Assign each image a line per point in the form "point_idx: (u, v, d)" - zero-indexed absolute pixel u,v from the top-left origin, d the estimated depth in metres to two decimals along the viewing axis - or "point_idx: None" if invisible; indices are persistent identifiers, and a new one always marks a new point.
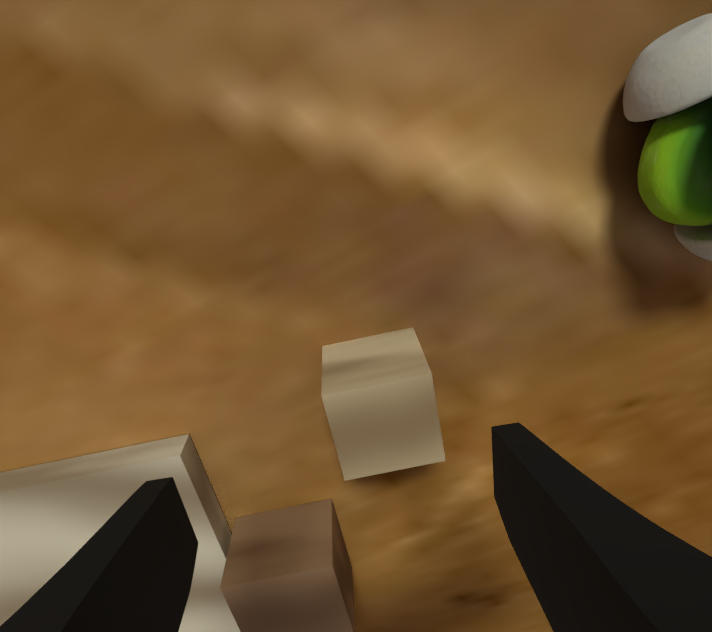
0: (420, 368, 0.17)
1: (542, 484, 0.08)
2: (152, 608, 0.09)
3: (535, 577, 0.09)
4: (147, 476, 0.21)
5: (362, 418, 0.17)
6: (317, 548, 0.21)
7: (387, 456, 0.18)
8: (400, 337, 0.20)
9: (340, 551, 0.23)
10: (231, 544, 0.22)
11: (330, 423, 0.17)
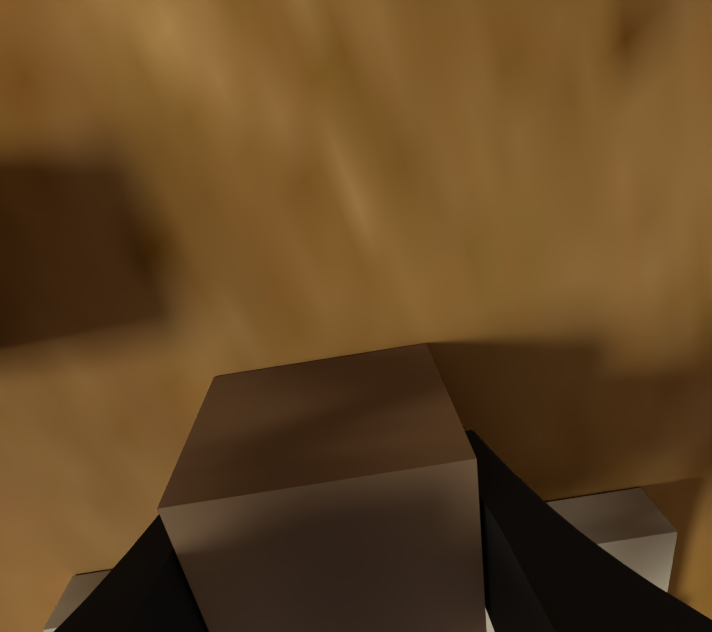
0: None
1: (481, 494, 0.08)
2: None
3: None
4: None
5: None
6: None
7: None
8: None
9: (291, 404, 0.09)
10: None
11: None
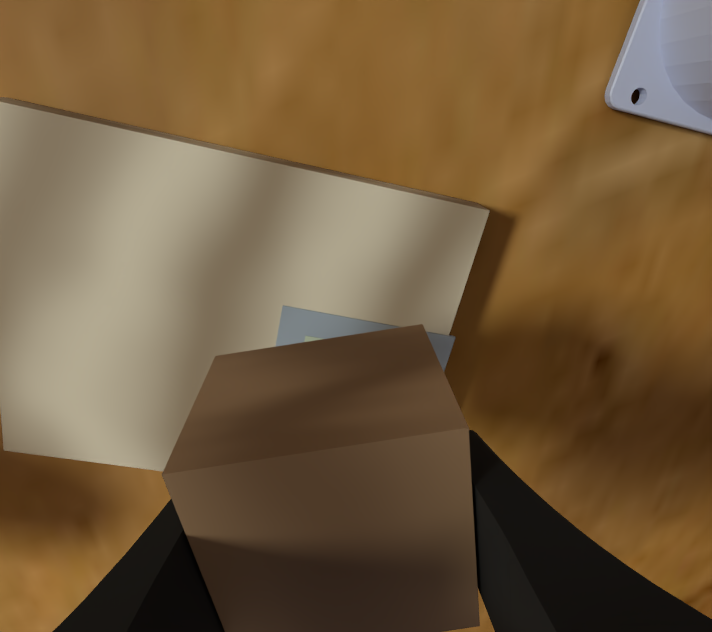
0: None
1: (482, 494, 0.08)
2: (206, 600, 0.09)
3: (482, 586, 0.09)
4: (6, 162, 0.14)
5: None
6: None
7: None
8: None
9: (290, 380, 0.10)
10: None
11: None
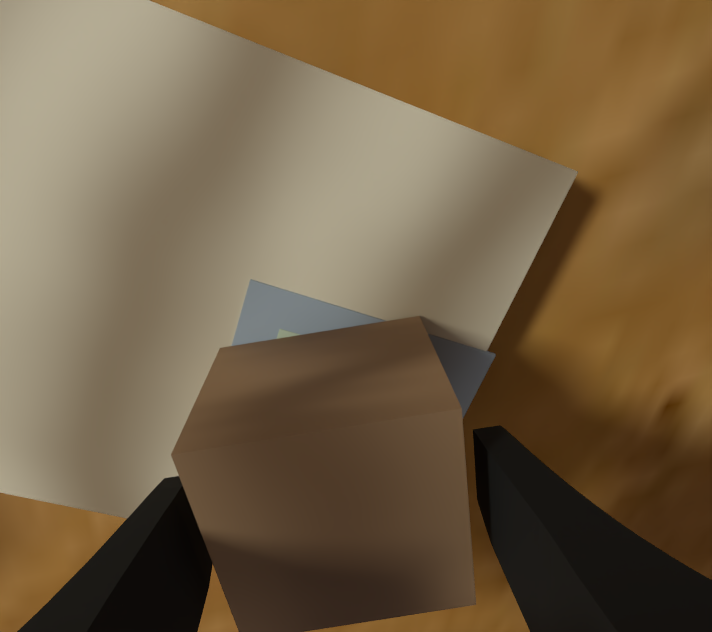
0: None
1: (518, 488, 0.08)
2: (173, 605, 0.09)
3: (514, 580, 0.09)
4: None
5: None
6: None
7: None
8: None
9: (292, 369, 0.10)
10: None
11: None
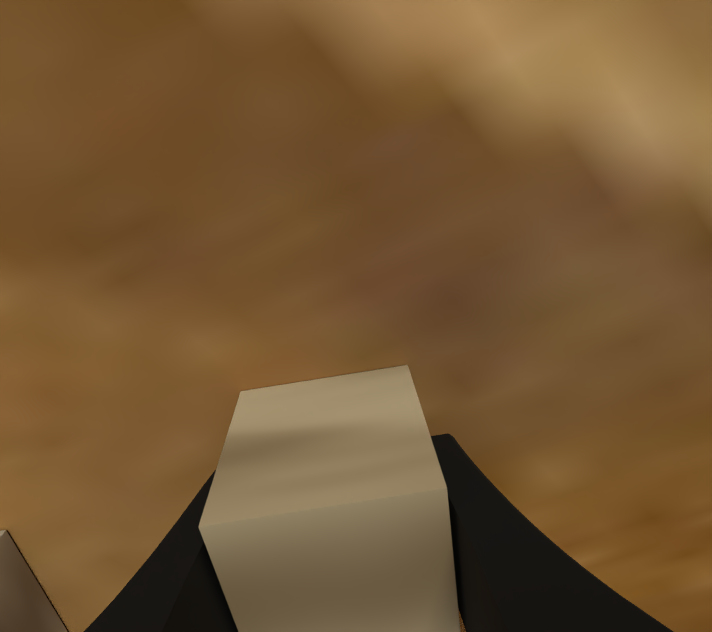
0: (422, 470, 0.08)
1: (451, 498, 0.08)
2: None
3: (456, 589, 0.09)
4: None
5: (291, 571, 0.08)
6: None
7: None
8: (383, 386, 0.10)
9: None
10: None
11: (221, 579, 0.08)
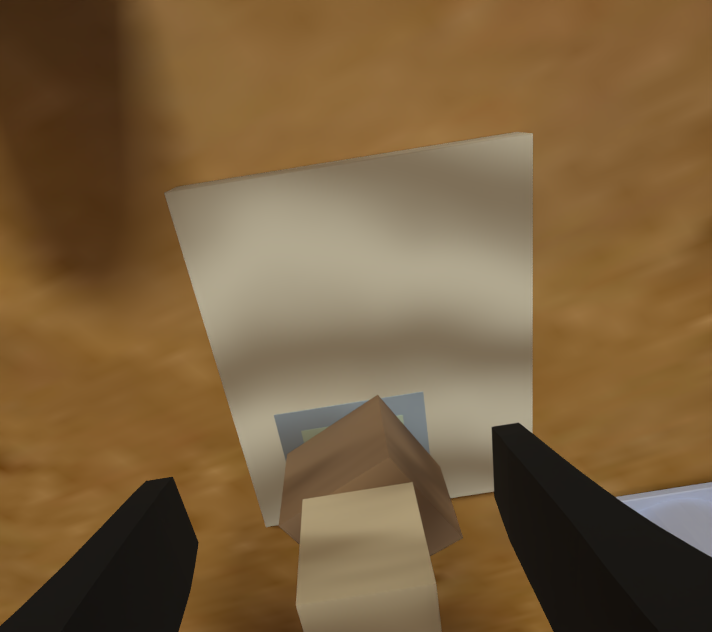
0: (422, 570, 0.14)
1: (542, 484, 0.08)
2: (152, 608, 0.09)
3: (535, 577, 0.09)
4: (484, 163, 0.17)
5: (346, 628, 0.14)
6: (370, 448, 0.17)
7: None
8: (397, 500, 0.16)
9: (409, 449, 0.19)
10: (285, 481, 0.19)
11: None
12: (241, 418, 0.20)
